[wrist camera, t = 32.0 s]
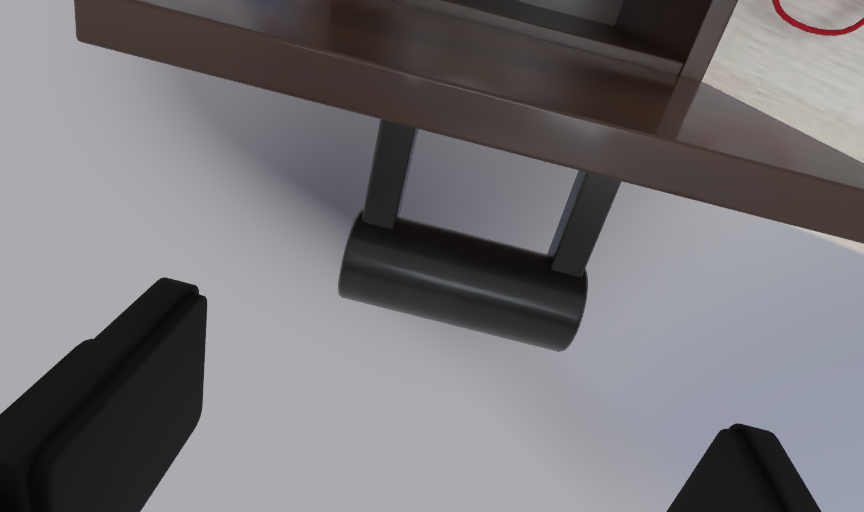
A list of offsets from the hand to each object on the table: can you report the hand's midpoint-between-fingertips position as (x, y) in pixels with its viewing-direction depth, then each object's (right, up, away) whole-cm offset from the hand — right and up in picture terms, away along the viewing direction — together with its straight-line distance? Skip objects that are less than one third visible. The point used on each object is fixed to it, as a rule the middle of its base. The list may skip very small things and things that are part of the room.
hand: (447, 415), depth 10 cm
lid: (+2, +8, +3) cm, 9 cm away
